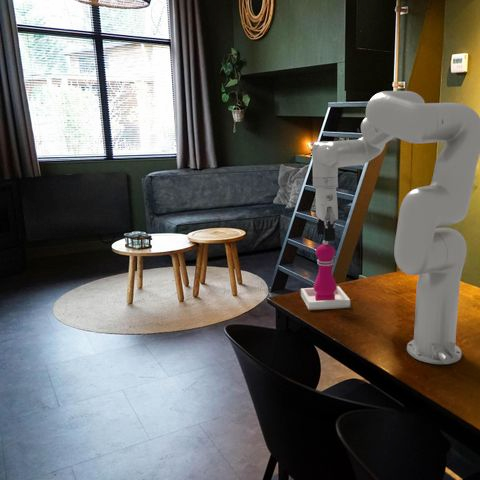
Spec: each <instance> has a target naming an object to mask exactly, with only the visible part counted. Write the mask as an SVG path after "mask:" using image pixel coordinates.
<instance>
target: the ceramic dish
mask: <svg viewBox="0 0 480 480" xmlns="http://www.w3.org/2000/svg"><path fill="white" fill-rule="evenodd" d="M336 286H337V289H336V291H335V292H334V294H335V300H322V301H316V300H315V294H316V293H317V292H316V291H315V290H314V287H306V288H300V296H301V299H302V300H303V302H304V303H305V305H306V306H305V307H307V309H308V311H316V310H319V311H320V310H329V309H330V310H334V309H345V308H346V309H348V308H349V309H350V308H351V299H350V298H349V297H348V295H347V294H346V293H345V291H343V290H342V288H341V287H340V286H339V285H336Z"/></svg>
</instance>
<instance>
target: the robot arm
mask: <svg viewBox="0 0 480 480" xmlns="http://www.w3.org/2000/svg"><path fill="white" fill-rule="evenodd" d="M360 132H361V134H362V136H361V137H360V138H358V139H346V140H334V141H332V140H331V141H330V140H329V141H327V140H326V141H325V140H323V141H316V142H314V143H313V145H312V150H311V151H312V188H313V189H315V215H316V235H318V236H319V235H323V236H324V237H323V238H324V239H323V240H325V241H328V242H333V241H336V223H335V222H336V221H337V220H338V219H339V212H338V211H339V210H338V209H339V208H338V195H337V188H339V177H338V175H339V174H338V173H339V168H345V167H354V166H356V167H357V166H362V165H365V164H367V163H369V162H370V161H372V160H373V159H375V158H377V157H378V156H380V155H381V154H382V152H383V151H384V149H385V148H386V144H387V143H389V142H390V141H392V140H393V139H394V138H397V139H398V140H401V141H404V142H407V143H411V144H429V143H430V144H431V143H440V142H442V143H444V147H443V148H442V150H440V151H441V152H440V153H439V155H438V156H437V159H436V161H435V163H434V169H433V175H432V179H431V183H430V185H425V186H419V187H416V188H414V189H411V191H409V192H408V193H407V194H406V195H405V196H404V197H403V199H402V202H401V204H400V208H399V214H398V220H397V227H396V234H395V241H394V249H393V255H394V260H395V263H396V265H397V267H398V269H399V270H400V271H401V272H403V273H404V274H406V275H409V276H417V277H418V278H417V283H416V294H415V309H414V310H415V311H414V331H413V339H412V340H410V341H409V342H408V343H407V345H406V351H407V353H408V355H410V356H411V357H412V358H413V359H416V360H418V361H420V362H424V363H427V364H432V365H450V364H451V365H452V364H454V363H457V362H459V361H460V360H461V359H462V350H461V348H460V347H459V346H457V345H456V339H457V338H456V336H457V335H456V334H457V325H458V324H457V323H458V310H459V309H458V308H459V299H460V297H459V296H460V287H461V286H460V285H461V279H462V275H463V274H462V273H463V268H464V265H465V262H466V258H467V251H468V247H467V243H466V240H465V238H464V237H465V236H463V235H462V234H461V233H460V231H457V230H456V229H453V228H449V226H452V225H455V224H457V223H460V222H461V221H463V220H464V219H465V218H466V217H467V214H468V212H469V207H470V203H471V198H472V193H473V192H472V191H473V189H474V188H473V187H474V182H475V177H476V171H477V165H478V163H479V159H480V116H479V114H478V112H477V111H475V109H473V108H472V107H470V106H468V105H465V104H464V103H463V104H462V103H459V102H429V103H425V100H424V98H423V97H422V95H419V94H418V93H417V92H414V91H410V90H384V91H379V92H377V93H376V94H374V95H372V97H371V98H370V100H368V102H367V104H366V108H365V118H364V119H363V120H362V122H361V124H360ZM446 226H448V227H446Z"/></svg>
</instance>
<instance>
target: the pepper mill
mask: <svg viewBox="0 0 480 480" xmlns="http://www.w3.org/2000/svg"><path fill="white" fill-rule="evenodd" d="M335 254H336V251H335V248H334V247H333V246H332V245H331V244H329V241H325V240H324V239H323V241H322V244H320V245H318V246H317V247H316V249H315V257H316V258H317V260H316V261H317V262H316V263H317V265H318V273H317V275H316V278H315V281H314V284H313V288H314V290H315V291H316V292H317V293H316V294H315V300H316V301H322V300H335V294H334V292H335V291H336V289H337V286H338V285H337V283H336V279H335V278H334V275H333V271H332V269H333V268H332V267H333V265H334V257H335Z"/></svg>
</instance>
